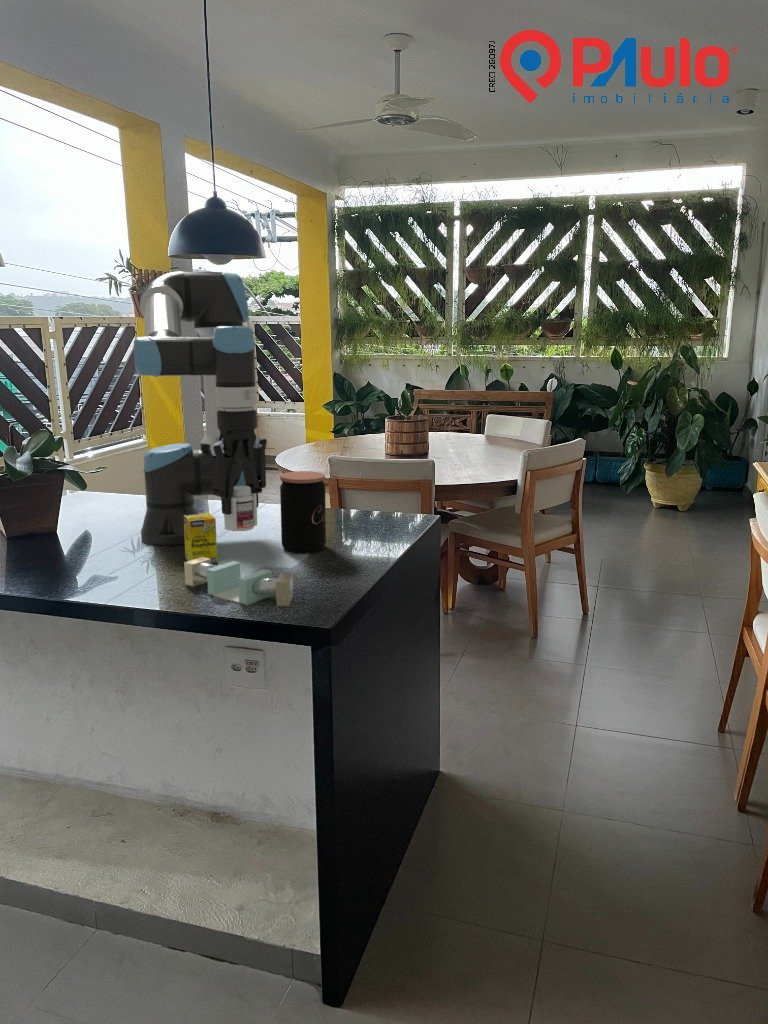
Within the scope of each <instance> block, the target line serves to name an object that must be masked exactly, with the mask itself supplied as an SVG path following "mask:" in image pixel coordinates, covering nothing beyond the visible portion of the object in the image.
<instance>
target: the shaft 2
mask: <svg viewBox="0 0 768 1024" xmlns="http://www.w3.org/2000/svg"><path fill="white" fill-rule="evenodd" d="M252 591H253V593H254V594H271V595H272V596H273V595H275V596H276V607H290V605H291V603H292V600H293V597H294V579H293V573H280V574H279V576H278V577H272V578H258V579H257V580H255V582H254V583H253V585H252Z"/></svg>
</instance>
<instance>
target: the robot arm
mask: <svg viewBox="0 0 768 1024" xmlns="http://www.w3.org/2000/svg"><path fill="white" fill-rule="evenodd" d="M139 309H140V312H141V315H142V316H143V319H144V336H137V337H135V339H133V356H134V366H135V371H136V373H137V374H138V375H139V376H146V377H147V376H148V377H150V376H151V377H152V376H153V377H176V376H177V377H179V376H182V377H183V376H184V377H185V376H188V377H189V376H202V377H203V379H202V380H203V395H204V396H203V397H204V400H203V401H204V417H205V419H204V420H205V436H204V437H203V438H202V439H201V440H200V448H199V449H193V446H192V444H190V443H184V442H183V443H171V444H167V445H160V446H156V447H153V448H151V449H149V450H147V451H146V452H145V453H144V456H143V469H142V471H143V473H144V483H145V484H144V486H145V487H144V488H145V489H144V490H145V502H146V503H145V504H146V510H145V515H144V517H143V522H142V523H143V524H142V527H141V529H140V535H141V536H140V537H141V541H142V542H143V543H145V544H149V545H156V546H173V545H174V546H176V545H185V537H184V515H195V514H198V512H197V509H196V506H195V505H196V504H195V497H199V496H201V497H203V496H217V497H219V498H220V500H221V514H223V516H224V517H223V519H224V530H226V531H227V530H228V531H232V532H238V531H237V511H236V498H234V497H232V496H233V489H234V486H240V485H244V486H250V487H251V494H250V496H252V497H253V512H254V527H255V526H258V508H259V503H260V502H259V494H261V493H262V492H263V489H265V488H266V486H267V476H266V475H267V474H266V471H267V470H266V447H267V443H268V441H267V439H266V438H262V437H261V438H260V437H257V435H256V434H257V433H255V430H256V429H257V428H258V420H257V419H258V414H257V411H256V410H255V409H254V408H256V406H257V392H256V388H257V387H256V368H255V367H256V366H255V365H256V359H255V347H256V343H255V337H254V330H253V328H252V327H249V326H243V325H244V324H246V323H248V322H249V318H250V317H249V305H248V299H247V293H246V288H245V284H244V282H243V280H242V278H241V276H240V275H239V274H236V273H231V272H223V271H219V272H218V271H182V270H181V271H179V270H178V271H171V272H167V273H164V274H163V275H160V276H158V277H156V278H154V279H153V280H152V281H150V282H149V283H148V284H146V286H145V288H143V291H142V292H141V294H140V298H139ZM181 322H183V323H185V322H186V323H193V327H194V331H195V332H196V333H197V334H198V335H199V336H183V332H182V325H181Z"/></svg>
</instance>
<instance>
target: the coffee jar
mask: <svg viewBox="0 0 768 1024" xmlns="http://www.w3.org/2000/svg"><path fill="white" fill-rule="evenodd" d="M325 478H326V475H325V474H324V473H323V472H319V471H312V470H311V471H310V470H308V471H307V470H294V471H287V472H284V473H281V474H280V475H279V479H280V481H281V483H280V485H279V493H280V494H279V495H280V496H279V499H280V501H279V502H280V531H281V534H280V535H281V537H280V539H281V545H282V548H283V549H284V551H285V552H288V553H292V554H300V555H303V554H313V553H318V552H320V551H322V550H323V549H324V548H325V546H326V543H327V527H326V523H327V521H326V518H327V517H326V516H327V515H326V506H327V505H326V484H325V483H324V481H325Z"/></svg>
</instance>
